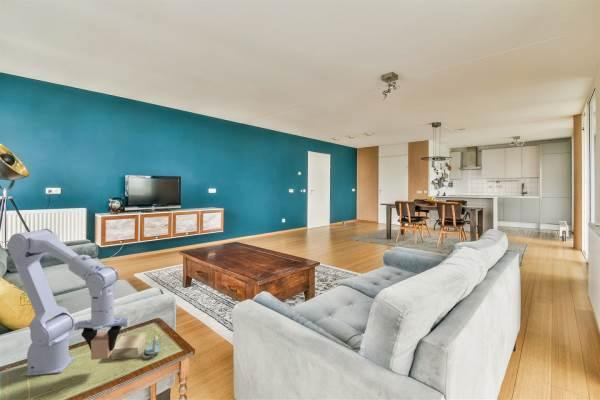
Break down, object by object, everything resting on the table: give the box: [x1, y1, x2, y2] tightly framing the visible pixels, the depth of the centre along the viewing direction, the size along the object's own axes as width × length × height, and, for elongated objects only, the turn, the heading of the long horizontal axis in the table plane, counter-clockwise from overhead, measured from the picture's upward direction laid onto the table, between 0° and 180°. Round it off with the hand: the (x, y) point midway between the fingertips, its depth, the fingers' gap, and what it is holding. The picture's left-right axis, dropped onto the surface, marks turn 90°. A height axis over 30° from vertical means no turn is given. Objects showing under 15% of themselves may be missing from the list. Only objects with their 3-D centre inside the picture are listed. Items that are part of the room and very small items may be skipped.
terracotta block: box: [90, 331, 114, 361], centre depth 89 cm, size 4×4×6 cm
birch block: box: [111, 334, 146, 360], centre depth 100 cm, size 8×8×4 cm
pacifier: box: [141, 334, 162, 360], centre depth 99 cm, size 7×6×6 cm
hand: (102, 349), depth 89 cm, fingers closed on terracotta block, 4 cm apart
